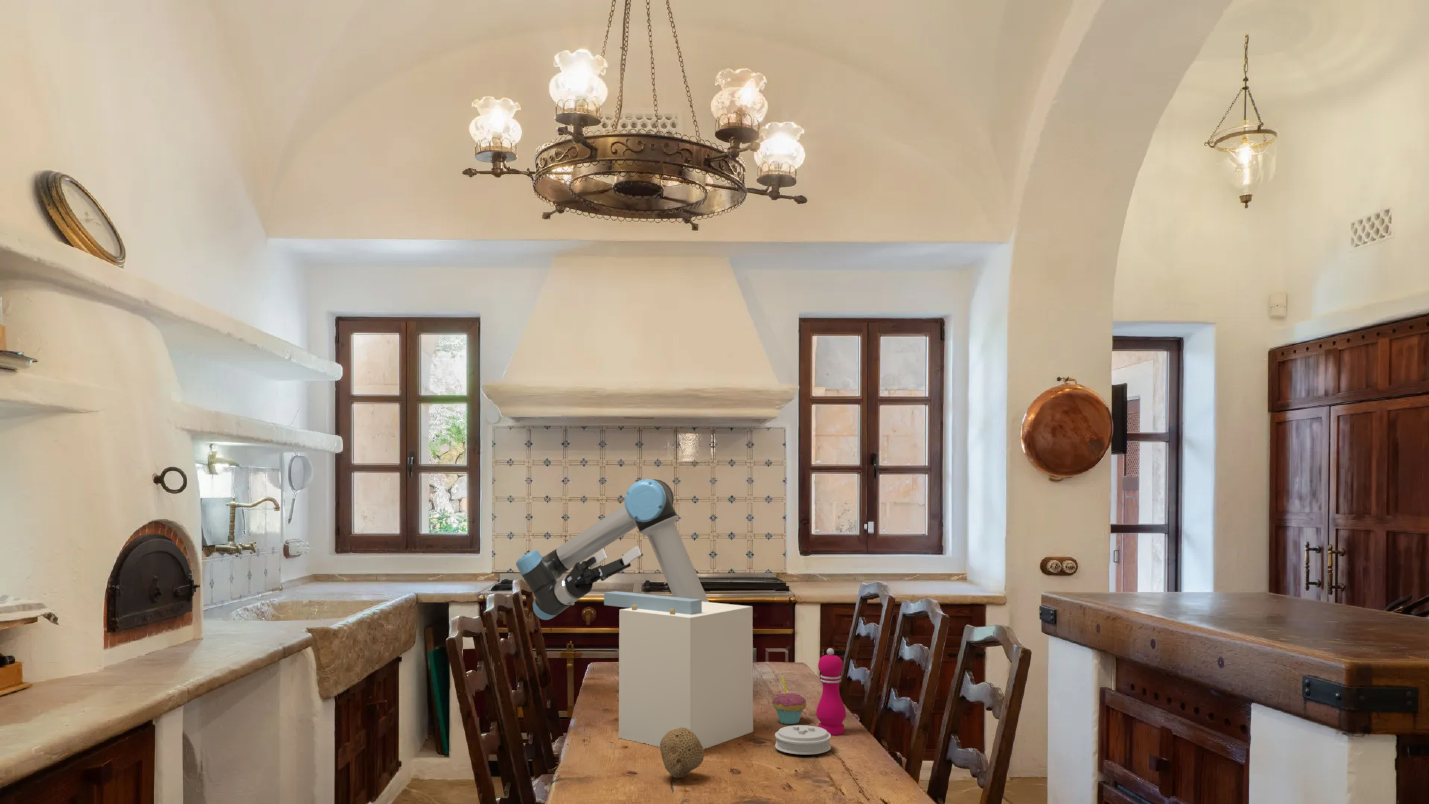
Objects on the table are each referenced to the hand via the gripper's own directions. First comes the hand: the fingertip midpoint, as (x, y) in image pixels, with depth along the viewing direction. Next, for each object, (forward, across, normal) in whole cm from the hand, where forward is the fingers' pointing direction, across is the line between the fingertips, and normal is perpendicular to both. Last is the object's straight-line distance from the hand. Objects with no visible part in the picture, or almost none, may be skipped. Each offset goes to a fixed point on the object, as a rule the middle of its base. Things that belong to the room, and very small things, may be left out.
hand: (622, 551), depth 263 cm
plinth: (+7, +11, -52) cm, 53 cm away
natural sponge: (+24, +37, -62) cm, 76 cm away
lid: (+32, +5, -67) cm, 74 cm away
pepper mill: (+29, -12, -65) cm, 72 cm away
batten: (+16, +17, -23) cm, 33 cm away
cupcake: (+18, -14, -58) cm, 63 cm away
